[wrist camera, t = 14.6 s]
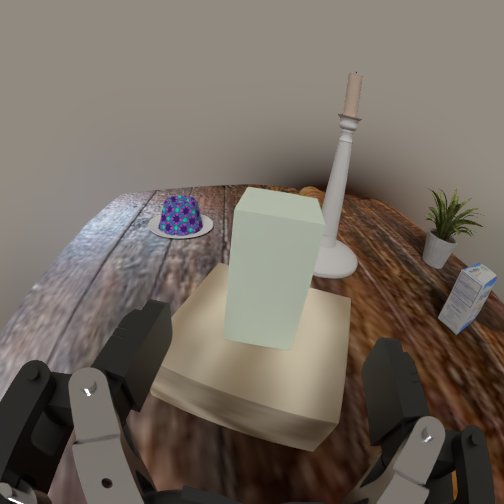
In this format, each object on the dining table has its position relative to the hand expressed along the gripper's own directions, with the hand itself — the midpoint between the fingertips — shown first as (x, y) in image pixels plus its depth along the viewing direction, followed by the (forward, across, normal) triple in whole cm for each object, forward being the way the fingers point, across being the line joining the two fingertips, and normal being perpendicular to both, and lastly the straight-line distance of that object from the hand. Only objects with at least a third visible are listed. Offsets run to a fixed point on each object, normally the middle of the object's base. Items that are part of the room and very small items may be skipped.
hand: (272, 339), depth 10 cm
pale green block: (+9, 0, +8) cm, 12 cm away
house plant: (+38, -33, +14) cm, 52 cm away
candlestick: (+33, -8, +14) cm, 37 cm away
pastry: (+62, -8, +14) cm, 64 cm away
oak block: (+9, 0, +14) cm, 17 cm away
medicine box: (+20, -30, +14) cm, 38 cm away
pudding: (+36, +17, +14) cm, 42 cm away
